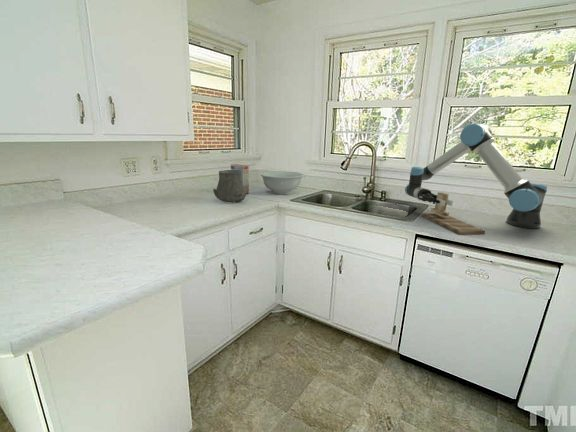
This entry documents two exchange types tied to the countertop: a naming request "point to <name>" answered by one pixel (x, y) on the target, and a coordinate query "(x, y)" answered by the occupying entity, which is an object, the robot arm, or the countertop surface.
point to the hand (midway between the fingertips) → (448, 203)
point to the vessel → (230, 186)
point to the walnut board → (453, 224)
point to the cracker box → (243, 175)
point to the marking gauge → (441, 209)
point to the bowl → (281, 181)
